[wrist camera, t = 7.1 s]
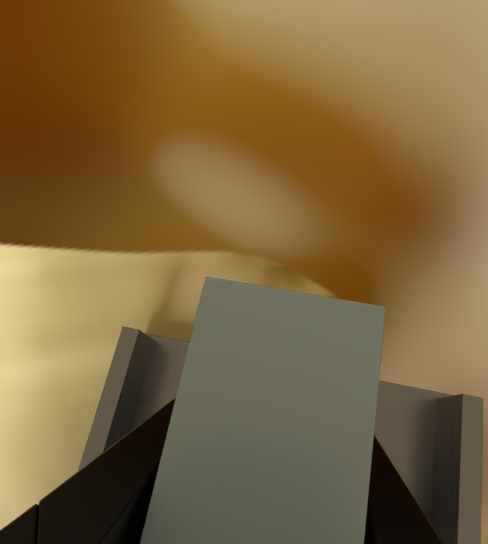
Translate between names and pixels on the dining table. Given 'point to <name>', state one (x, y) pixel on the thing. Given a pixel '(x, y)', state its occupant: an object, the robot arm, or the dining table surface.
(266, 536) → the tall grey-blue box
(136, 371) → the dish rack
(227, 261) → the dining table surface
